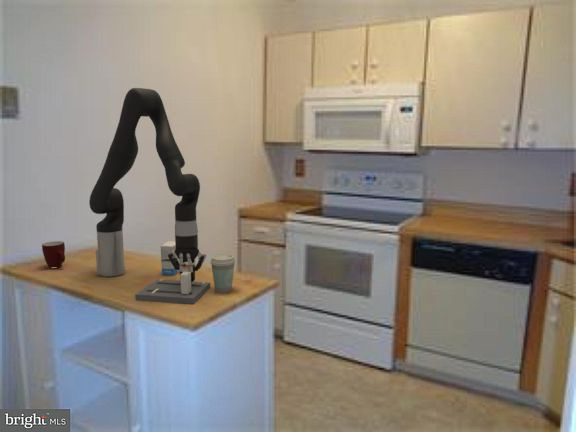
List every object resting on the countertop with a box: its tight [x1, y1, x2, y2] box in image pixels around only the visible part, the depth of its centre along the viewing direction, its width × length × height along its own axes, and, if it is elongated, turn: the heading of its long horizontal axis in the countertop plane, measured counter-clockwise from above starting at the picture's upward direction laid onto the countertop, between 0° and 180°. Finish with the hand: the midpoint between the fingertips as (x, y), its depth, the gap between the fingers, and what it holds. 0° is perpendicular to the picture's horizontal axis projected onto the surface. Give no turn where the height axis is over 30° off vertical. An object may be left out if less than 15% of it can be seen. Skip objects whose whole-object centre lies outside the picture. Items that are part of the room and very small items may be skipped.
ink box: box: [160, 240, 180, 276], centre depth 174 cm, size 9×5×12 cm, turn 168°
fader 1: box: [183, 263, 193, 284], centre depth 153 cm, size 2×3×7 cm
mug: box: [41, 240, 66, 268], centre depth 179 cm, size 10×8×10 cm
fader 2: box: [180, 272, 191, 294], centre depth 145 cm, size 2×3×7 cm
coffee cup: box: [209, 253, 236, 294], centre depth 154 cm, size 9×8×12 cm
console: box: [134, 278, 211, 305], centre depth 151 cm, size 20×16×2 cm
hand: (187, 281), depth 154 cm, fingers closed on fader 1, 2 cm apart
